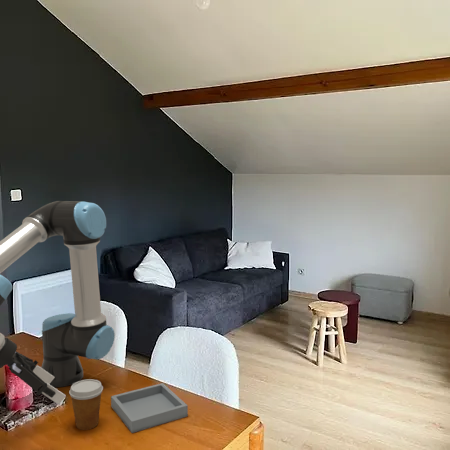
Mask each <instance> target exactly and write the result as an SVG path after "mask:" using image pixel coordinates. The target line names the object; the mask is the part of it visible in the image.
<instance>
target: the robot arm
mask: <svg viewBox="0 0 450 450" xmlns="http://www.w3.org/2000/svg"><path fill="white" fill-rule="evenodd" d="M106 229H107V217H106V215H105V212H104V210H103V209H102V208H101V207H100V205H98V204H96V203H94V202H88V201H78V200H77V201H76V200H75V201H72V200H71V201H69V200H56V201H53V202H49V203H46V204H45V205H42V206H41V207H39V208H38V209H36V210H35V211H32V213H30V214H29V215H27V216H26V217H25V218H24V219H22V224H21V225H19V227H17V228H16V229H14V230H13V231H12V232H11V233H9V234H8V235H6V237H4V238H3V239H1V240H0V307H1V306H3V305H2V304H3V303H4V302H5V301H7V298H8V296H9V295H10V293H11V292H12V290H13V285H12V283H11V281H10V280H9V279H8V278H6V276H4V275H2V274H1V273H3V272H4V271H5V270H6V269H8V268H9V267H10V266H11V265H13V263H15V262H16V261H18V259H20V258H21V257H22V256H24V254H26V253H27V252H29V251H30V249H32V248H33V247H35V245H37V244H38V243H44V242H45V241H47V239H49V238H52V237H55V236H61V237H63V238H62V239H63V245H64V246H66V247H67V248H68V250H69V251H68V252H69V262H70V272H71V273H70V274H71V284H72V293H73V294H72V295H73V296H72V297H73V307H74V313H72V312H69V313H67V312H66V313H61V314H55V315H52V316H49V317H46V318H45V319H44V320H43V321H42V324H41V325H42V328H41V329H42V330H41V334H42V336H41V337H42V340H41V341H42V352H43V353H42V355H43V360H42V364H41V366H39V365H38V363H39V362H38V361H37V360H36V359H35V360H34V359H31V358H29V357H28V356H26V355H24V354H22V353H20V352H19V351H18V350H17V349H18V346H17V343H16V342H14V341H13V340H11V339H10V338H9V337H5V334H3V333H1V332H0V369H1V368H3V367H4V366H7V367H8V370H9V371H10V373H12V374H14V376H16V377H17V378H19V379H20V380H21V381H23V382H24V383H25V384H26V385H27V386H29V387H30V388H31V389H32V390H34V391H35V392H36V395H37V396H40V395H44V396H45V397H47V398H48V399H50V400H51V401H53V403H56V404H57V405H61V403H62V402H63V400H65V398H66V397H67V396H66V394H65V393H63V392H62V391H60V390H58V388H63V387H68V386H70V385H71V386H72V385H73V384H74V383H76V382H78V381H81V380H83V378H84V369H83V367H82V363H81V360H80V358H79V357H82V358H86V359H88V360H92V359H93V360H101V359H103V358H105V357H106V356H107V355H108V353H110V351H111V349H112V347H113V344H114V342H115V335H116V334H115V329H114V328H112V326H110V325H109V324H108V325H107V317H106V315H105V314H103V313H102V306H101V305H102V304H101V295H100V282H99V281H100V280H99V270H98V258H97V257H98V256H97V254H98V253H97V246H98V244H99V243H100V242H101V237H102V236H103V235H104V233H105V232H106V231H105V230H106Z"/></svg>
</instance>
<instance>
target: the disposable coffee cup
mask: <svg viewBox="0 0 450 450" xmlns="http://www.w3.org/2000/svg"><path fill="white" fill-rule="evenodd" d="M69 389H70V390H69V392H68V393H69V395H70V397H71V402H72V403H71V404H72V410H73V414H74V415H73V416H74V421H75V427H76V428H77V429H79V430H83V431H85V430H91V429H94V428H95V427H97V426H98V424H99V419H100V418H99V417H100V411H101V410H100V409H101V408H100V407H101V399H102V398H101V397H102V393H103V390H104V386H103V385H102V382H101V381H100V380H98V379H92V378H89V379H81V380H80V381H78V382H76V383H74V384H71V386H70V388H69Z"/></svg>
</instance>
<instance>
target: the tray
mask: <svg viewBox="0 0 450 450" xmlns="http://www.w3.org/2000/svg"><path fill="white" fill-rule="evenodd" d="M110 404H111V405H110V407H111V408H112V409H113V411H114V413H116V415H117V416H118V417H119V419H120V420H121V422H123V424H124V425H125V427H126V428H127V429H128V430H129V431H130V433H131V434H134V433H137V432H141V431H145V430H146V429H147V430H148V429H150V428H154V427H157V426H160V425H163V424H166V423H170V422H174V421H177V420H179V419H182V418H186V417H188V415H189V414H188V413H189V412H188V410H189V408H188V407H189V405H188V404H187V403H185V402H184V400H183V399H181V398H180V397H179V396H178V395H177V394H176V393H175V392H173V391H172V389H170V388H169V387H168V386H166V385H165V383H163V382H162V383H161V382H160V383H158V384H154V385H149V386H145V387H142V388H138V389H134V390H129V391H125V392H123V393H119V394H115V395H111V396H110Z"/></svg>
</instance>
